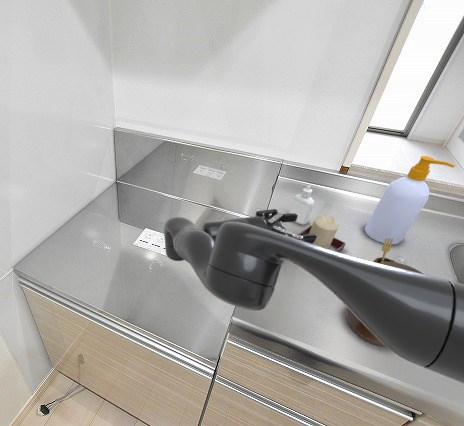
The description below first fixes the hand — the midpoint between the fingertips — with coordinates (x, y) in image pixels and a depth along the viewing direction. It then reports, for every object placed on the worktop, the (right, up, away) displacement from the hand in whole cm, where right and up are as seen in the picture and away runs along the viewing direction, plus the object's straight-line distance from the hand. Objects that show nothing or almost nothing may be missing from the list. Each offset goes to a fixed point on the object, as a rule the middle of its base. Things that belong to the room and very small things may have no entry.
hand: (305, 227), depth 74 cm
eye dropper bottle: (+6, +1, +16) cm, 17 cm away
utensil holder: (+13, -14, -6) cm, 20 cm away
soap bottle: (+27, -3, +9) cm, 29 cm away
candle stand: (+6, -20, -14) cm, 25 cm away
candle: (+6, -6, +5) cm, 10 cm away
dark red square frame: (+6, -6, +5) cm, 10 cm away
